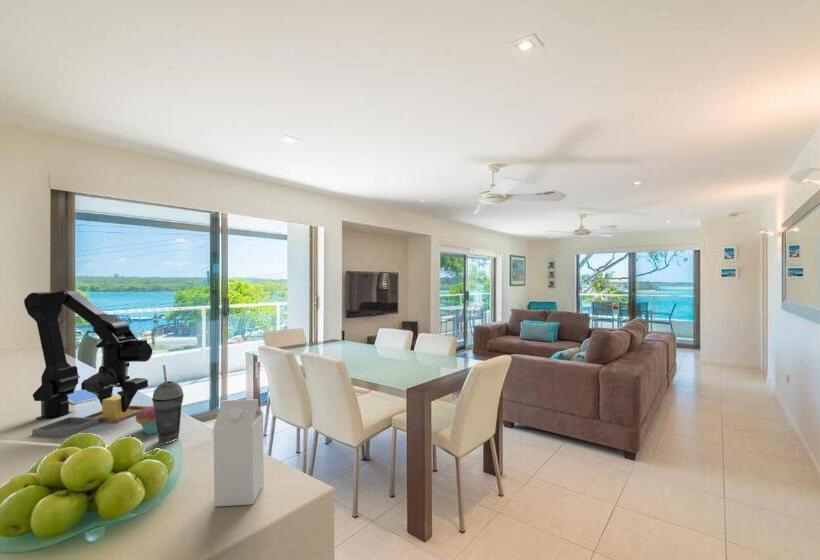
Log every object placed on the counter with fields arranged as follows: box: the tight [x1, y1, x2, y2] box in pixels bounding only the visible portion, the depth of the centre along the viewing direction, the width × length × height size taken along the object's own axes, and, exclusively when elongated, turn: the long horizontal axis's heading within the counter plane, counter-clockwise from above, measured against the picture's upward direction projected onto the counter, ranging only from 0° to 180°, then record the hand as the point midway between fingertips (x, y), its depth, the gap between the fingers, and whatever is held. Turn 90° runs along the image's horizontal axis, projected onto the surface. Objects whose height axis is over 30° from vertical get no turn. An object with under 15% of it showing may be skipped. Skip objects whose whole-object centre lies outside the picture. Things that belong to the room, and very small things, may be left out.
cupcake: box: [134, 405, 158, 435], centre depth 111 cm, size 9×8×12 cm
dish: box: [31, 416, 100, 438], centre depth 112 cm, size 10×10×2 cm
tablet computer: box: [67, 389, 116, 405], centre depth 147 cm, size 19×13×1 cm, turn 53°
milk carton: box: [213, 398, 265, 507], centre depth 78 cm, size 7×7×19 cm
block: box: [101, 395, 128, 419], centre depth 123 cm, size 4×4×6 cm
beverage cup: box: [151, 364, 185, 445], centre depth 105 cm, size 7×7×20 cm
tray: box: [82, 404, 151, 424], centre depth 124 cm, size 12×12×1 cm
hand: (115, 411), depth 123 cm, fingers open, 6 cm apart
